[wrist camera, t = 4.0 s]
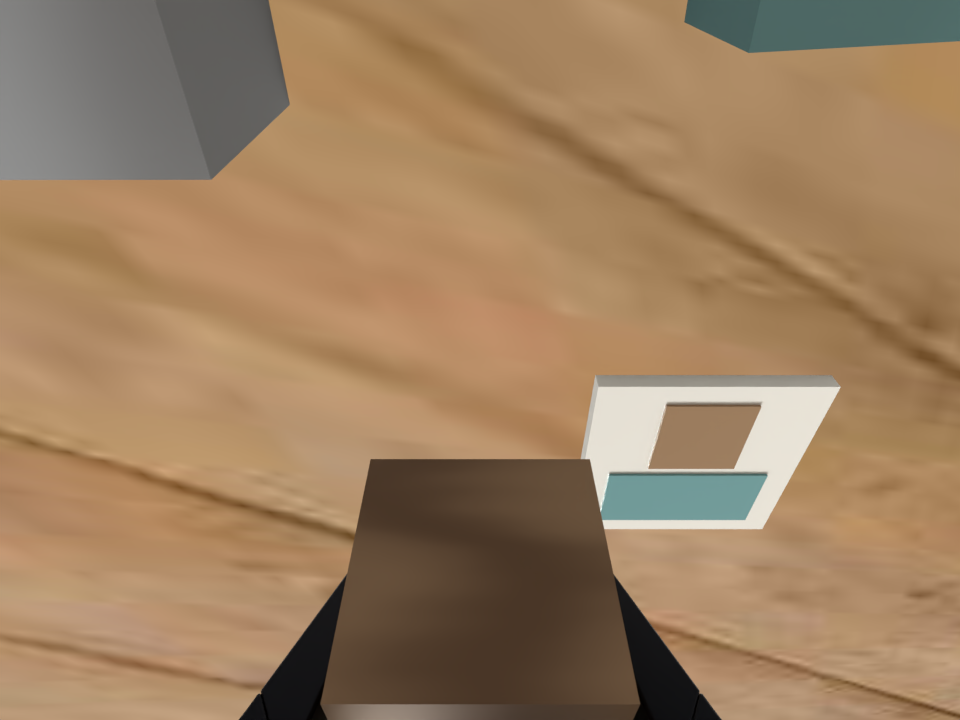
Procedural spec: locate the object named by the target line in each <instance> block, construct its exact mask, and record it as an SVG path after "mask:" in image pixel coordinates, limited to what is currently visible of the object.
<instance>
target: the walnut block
mask: <svg viewBox="0 0 960 720" xmlns="http://www.w3.org/2000/svg"><path fill="white" fill-rule="evenodd" d="M320 705H321V707H322V709H323V711H324V713H325V715H326V717H327V719H328V720H633V718H634V716H635V714H636V712H637V710H638V708H639V706H640V701H639V696H638V691H637V686H636V681H635V677H634V672H633V667H632V662H631V657H630V652H629V647H628V642H627V638H626V633H625V628H624V623H623V618H622V613H621V608H620V603H619V599H618V594H617V589H616V584H615V579H614V574H613V569H612V564H611V560H610V555H609V550H608V545H607V540H606V535H605V530H604V526H603V521H602V516H601V511H600V506H599V501H598V496H597V491H596V487H595V482H594V477H593V472H592V467H591V462H590V459H371V460H370V464H369V469H368V474H367V479H366V484H365V489H364V494H363V499H362V504H361V508H360V513H359V518H358V523H357V528H356V533H355V538H354V543H353V547H352V552H351V557H350V562H349V567H348V572H347V577H346V582H345V587H344V591H343V596H342V601H341V606H340V611H339V616H338V621H337V626H336V631H335V635H334V640H333V645H332V650H331V655H330V660H329V665H328V670H327V674H326V679H325V684H324V689H323V694H322V699H321V704H320Z"/></svg>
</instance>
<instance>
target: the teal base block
mask: <svg viewBox="0 0 960 720" xmlns="http://www.w3.org/2000/svg"><path fill="white" fill-rule="evenodd" d="M684 22H685V23H687V24H689V25H691V26H693V27H695V28H697V29H699V30H701V31H704V32H706V33H708V34H710V35H712V36H714V37H716V38H718V39H720V40H722V41H724V42H727V43H729V44H731V45H733V46H735V47H737V48H739V49H741V50H743V51H745V52H747V53H758V52H776V51H794V50H812V49H830V48H848V47H866V46H884V45H902V44H919V43H937V42H955V41H960V0H688V2H687V8H686V14H685V21H684Z"/></svg>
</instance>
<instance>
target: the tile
mask: <svg viewBox="0 0 960 720" xmlns="http://www.w3.org/2000/svg"><path fill="white" fill-rule="evenodd" d="M840 388H841V387H840V385H839V384H838V383H837V381H836V380H835V379H834V378H833V376H832V375H595V380H594V385H593V391H592V397H591V403H590V408H589V414H588V420H587V426H586V431H585V437H584V443H583V449H582V454H581V459H590V462H591V467H592V472H593V477H594V482H595V487H596V491H597V496H598V501H599V506H600V511H601V516H602V521H603V526H604V529H763V527H764V525H765V523H766V521H767V520H768V518H769V516H770V514H771V512H772V510H773V509H774V507H775V505H776V503H777V501H778V500H779V498H780V496H781V494H782V492H783V491H784V489H785V487H786V485H787V483H788V482H789V480H790V478H791V476H792V474H793V473H794V471H795V469H796V467H797V465H798V463H799V462H800V460H801V458H802V456H803V454H804V453H805V451H806V449H807V447H808V445H809V444H810V442H811V440H812V438H813V436H814V435H815V433H816V431H817V429H818V427H819V426H820V424H821V422H822V420H823V418H824V416H825V415H826V413H827V411H828V409H829V407H830V406H831V404H832V402H833V400H834V398H835V397H836V395H837V393H838V391H839V389H840Z"/></svg>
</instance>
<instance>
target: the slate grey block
mask: <svg viewBox="0 0 960 720" xmlns="http://www.w3.org/2000/svg"><path fill="white" fill-rule="evenodd" d="M289 105H290V102H289V98H288V93H287V88H286V83H285V78H284V73H283V68H282V63H281V58H280V54H279V49H278V44H277V39H276V34H275V29H274V24H273V19H272V14H271V10H270V5H269V0H0V180H212V179H213V178H214V177H215V176H216V175H217V174H218V173H219V172H220V171H221V170H222V169H223V168H224V167H225V166H226V165H227V164H228V163H229V162H231V161H232V160H233V159H234V158H235V157H236V156H237V155H238V154H239V153H240V152H241V151H242V150H243V149H244V148H245V147H246V146H247V145H248V144H249V143H250V142H251V141H252V140H254V139H255V138H256V137H257V136H258V135H259V134H260V133H261V132H262V131H263V130H264V129H265V128H266V127H267V126H268V125H269V124H270V123H271V122H272V121H273V120H274V119H276V118H277V117H278V116H279V115H280V114H281V113H282V112H283V111H284V110H285V109H286V108H287V107H288V106H289Z"/></svg>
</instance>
